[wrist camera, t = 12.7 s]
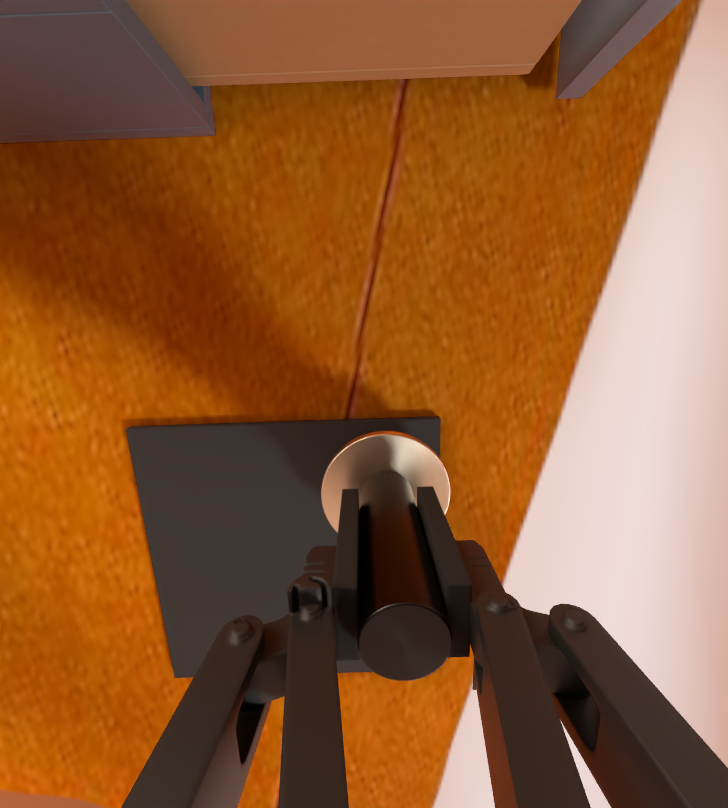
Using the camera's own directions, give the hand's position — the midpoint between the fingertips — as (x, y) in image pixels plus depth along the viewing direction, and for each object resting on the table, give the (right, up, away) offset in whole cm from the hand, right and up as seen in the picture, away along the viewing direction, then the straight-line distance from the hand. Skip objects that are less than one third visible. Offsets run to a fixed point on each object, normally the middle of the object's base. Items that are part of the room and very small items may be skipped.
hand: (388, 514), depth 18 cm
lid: (0, +1, +2) cm, 2 cm away
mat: (-5, -4, +6) cm, 9 cm away
